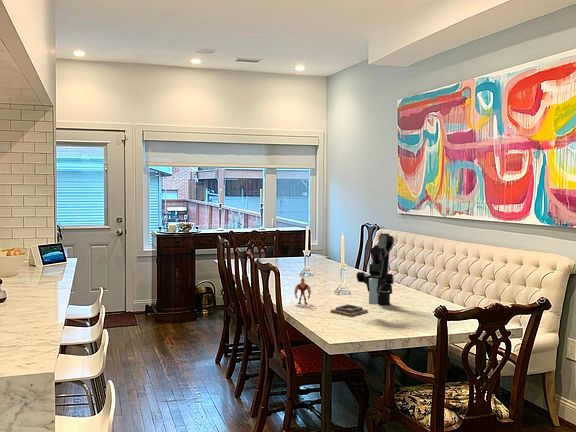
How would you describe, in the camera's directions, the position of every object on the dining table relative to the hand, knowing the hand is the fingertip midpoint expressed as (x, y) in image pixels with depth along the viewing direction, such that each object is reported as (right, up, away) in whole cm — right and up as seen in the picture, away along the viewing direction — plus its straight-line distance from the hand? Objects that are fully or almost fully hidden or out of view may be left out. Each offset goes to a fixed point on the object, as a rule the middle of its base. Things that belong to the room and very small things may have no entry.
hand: (372, 291), depth 291 cm
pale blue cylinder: (0, -7, +2) cm, 7 cm away
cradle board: (-11, -13, +12) cm, 21 cm away
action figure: (-35, -12, +33) cm, 50 cm away
